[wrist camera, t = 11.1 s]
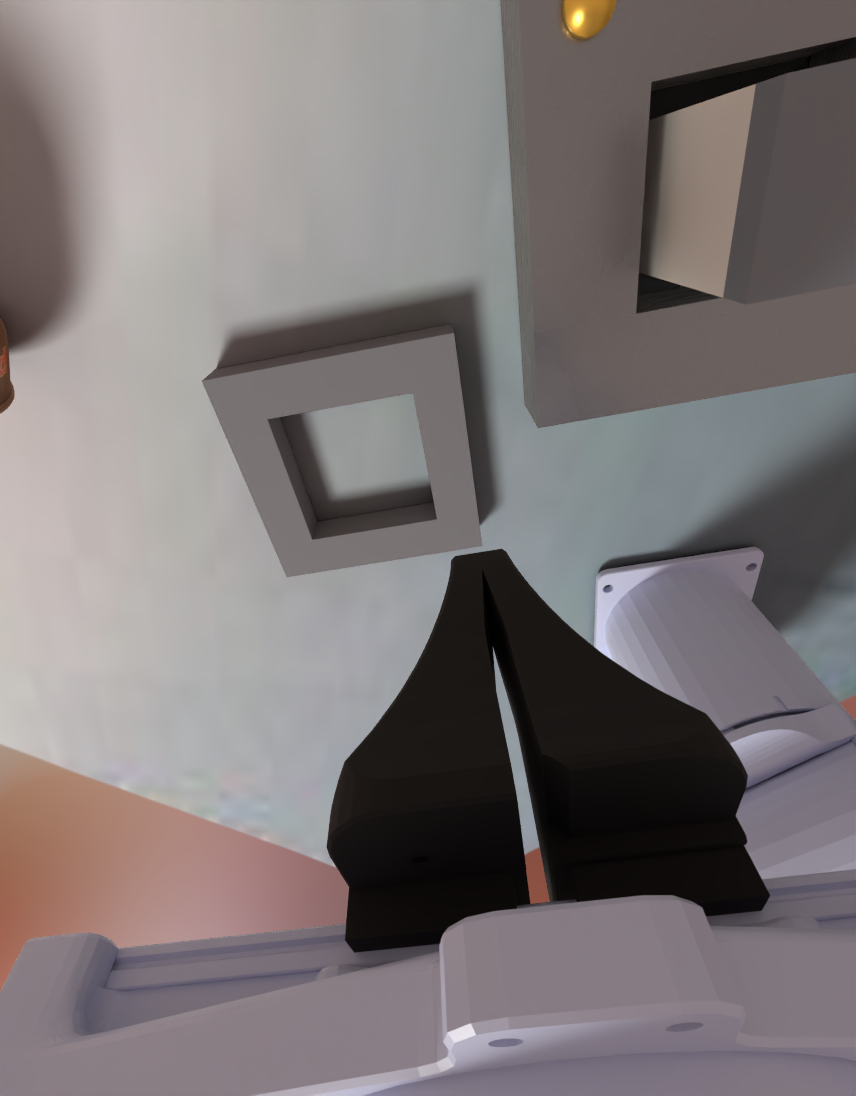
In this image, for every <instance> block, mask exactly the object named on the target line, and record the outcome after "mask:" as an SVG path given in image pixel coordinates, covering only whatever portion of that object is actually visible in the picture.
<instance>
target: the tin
mask: <svg viewBox="0 0 856 1096" xmlns="http://www.w3.org/2000/svg"><path fill="white" fill-rule="evenodd" d="M13 400H14V388H13V385H12V383H11V381H10V367H9V349H8V338H7V332H6V328H5V326H4V323H3V321H2V319H1V317H0V413H2V412H4V411H5V410H6V409H7V408H8V407H9V406H10V404H11V403H12V401H13Z"/></svg>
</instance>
